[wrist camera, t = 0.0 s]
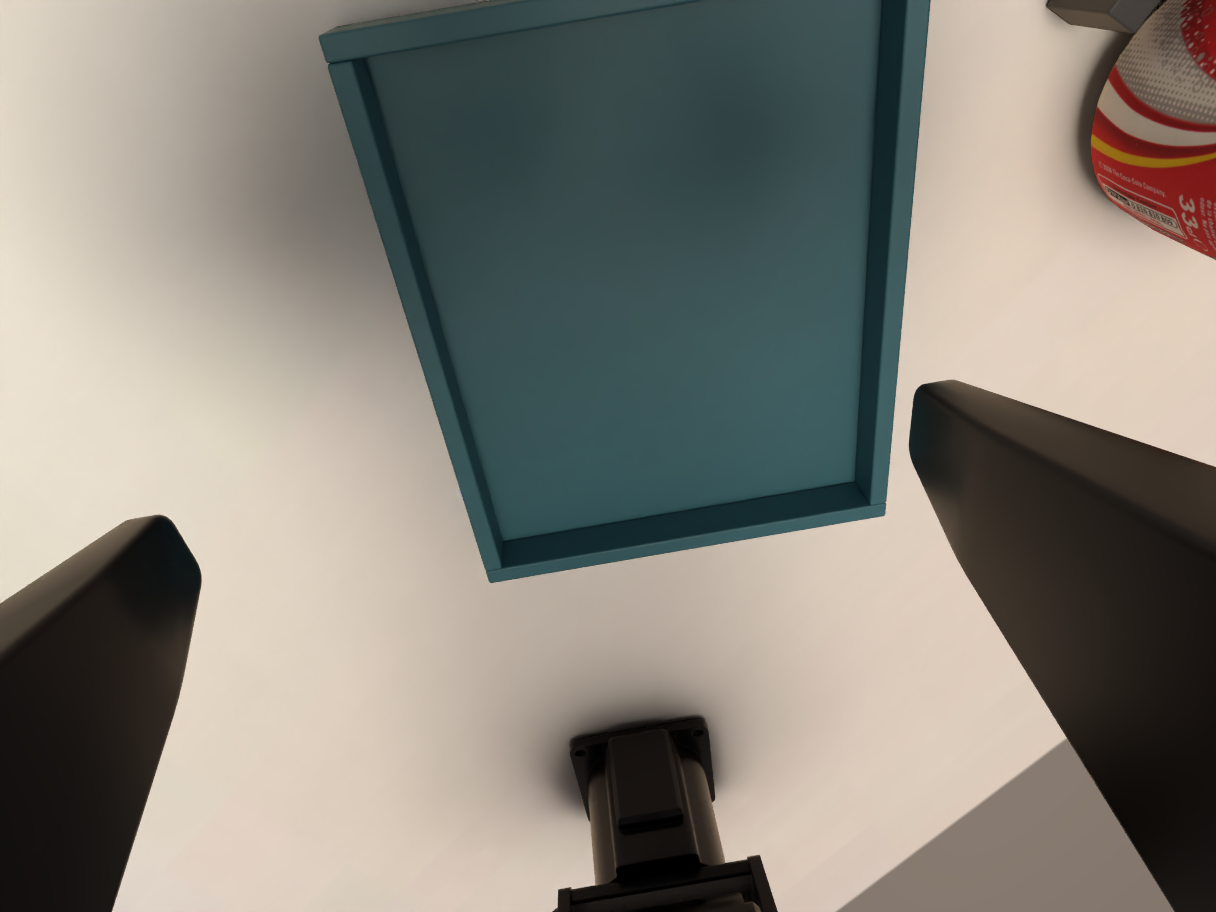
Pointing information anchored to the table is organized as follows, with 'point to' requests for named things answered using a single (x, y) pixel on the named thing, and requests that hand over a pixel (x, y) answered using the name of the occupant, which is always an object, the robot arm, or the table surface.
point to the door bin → (1105, 13)
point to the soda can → (1163, 125)
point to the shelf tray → (646, 258)
